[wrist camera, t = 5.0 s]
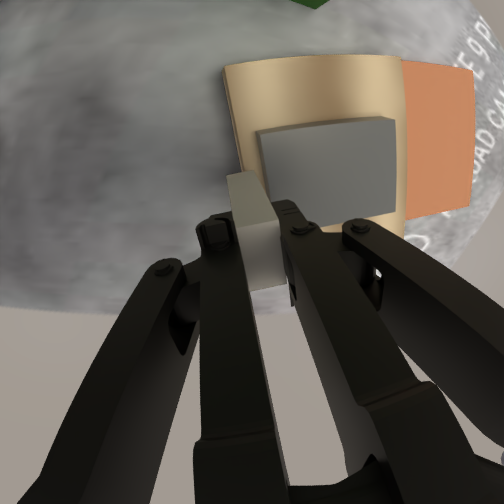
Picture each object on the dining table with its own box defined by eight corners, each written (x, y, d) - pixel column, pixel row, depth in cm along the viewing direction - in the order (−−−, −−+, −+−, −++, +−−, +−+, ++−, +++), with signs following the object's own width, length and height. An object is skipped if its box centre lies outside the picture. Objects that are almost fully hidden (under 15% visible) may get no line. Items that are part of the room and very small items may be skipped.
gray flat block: (271, 225, 19) (276, 236, 17) (255, 130, 16) (259, 134, 14) (383, 202, 19) (395, 211, 18) (381, 116, 16) (395, 119, 14)
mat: (384, 222, 25) (386, 224, 24) (376, 59, 17) (379, 59, 17) (466, 204, 25) (469, 206, 24) (469, 70, 17) (472, 70, 17)
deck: (256, 250, 24) (265, 279, 21) (221, 71, 17) (224, 65, 14) (379, 223, 24) (402, 245, 21) (370, 59, 17) (400, 56, 14)
